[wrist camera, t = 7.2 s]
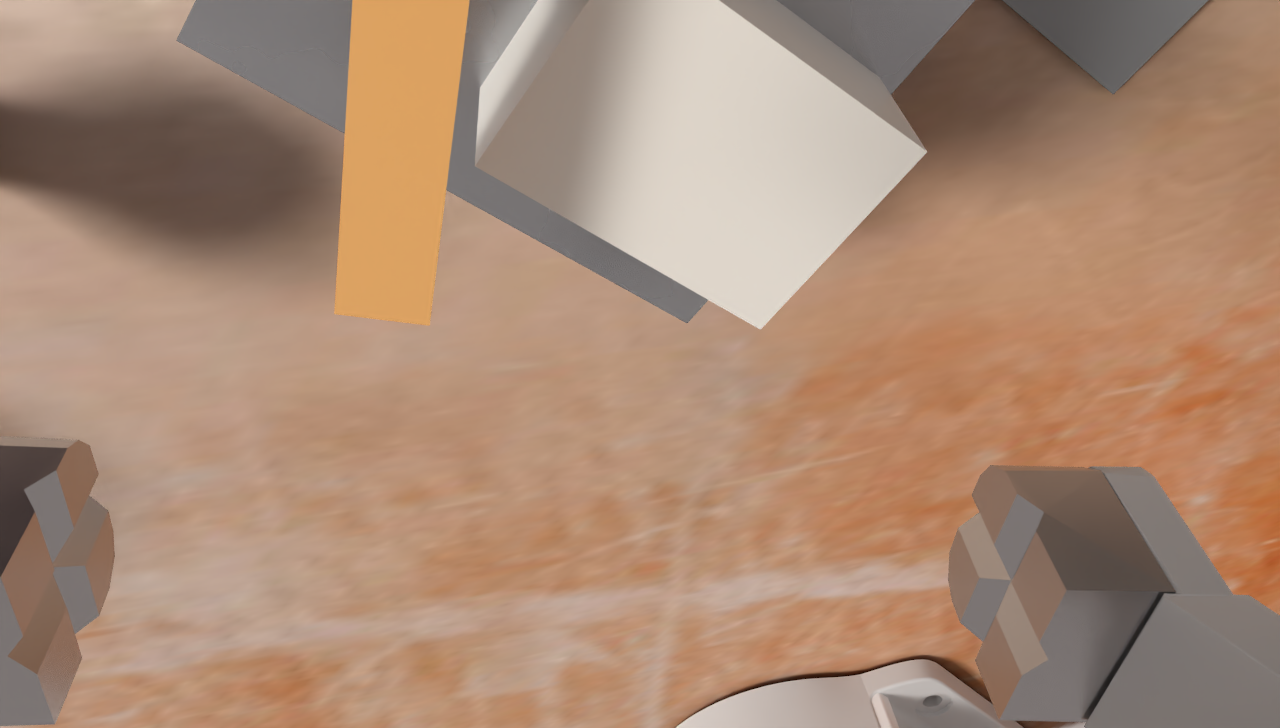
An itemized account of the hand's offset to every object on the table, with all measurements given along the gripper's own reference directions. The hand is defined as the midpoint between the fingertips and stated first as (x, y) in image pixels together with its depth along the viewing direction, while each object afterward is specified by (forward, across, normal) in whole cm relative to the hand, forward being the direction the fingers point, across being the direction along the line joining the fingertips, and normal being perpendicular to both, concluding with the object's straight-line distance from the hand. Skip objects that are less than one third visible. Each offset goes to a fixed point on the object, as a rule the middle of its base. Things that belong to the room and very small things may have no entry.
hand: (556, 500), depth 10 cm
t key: (+14, -2, +1) cm, 15 cm away
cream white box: (+14, +3, -2) cm, 15 cm away
